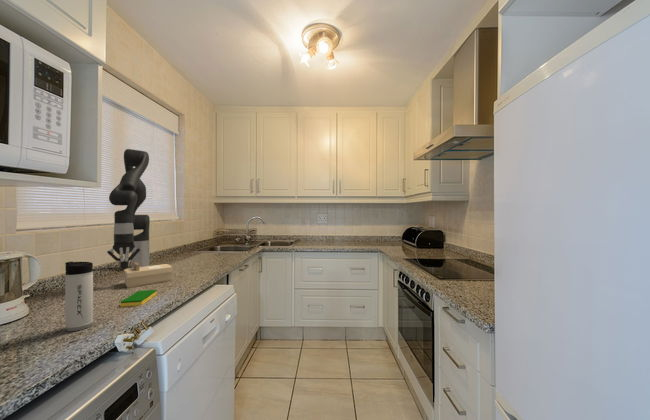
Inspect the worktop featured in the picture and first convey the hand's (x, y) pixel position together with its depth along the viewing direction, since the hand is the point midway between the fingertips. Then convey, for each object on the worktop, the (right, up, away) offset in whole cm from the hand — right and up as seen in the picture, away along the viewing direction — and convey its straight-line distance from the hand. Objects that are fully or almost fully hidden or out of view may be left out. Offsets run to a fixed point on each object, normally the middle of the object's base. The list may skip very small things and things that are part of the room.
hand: (124, 269), depth 126 cm
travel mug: (+20, -8, -45) cm, 49 cm away
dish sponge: (+21, -9, -20) cm, 30 cm away
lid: (+7, -3, +7) cm, 10 cm away
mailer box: (+7, -8, +7) cm, 13 cm away
